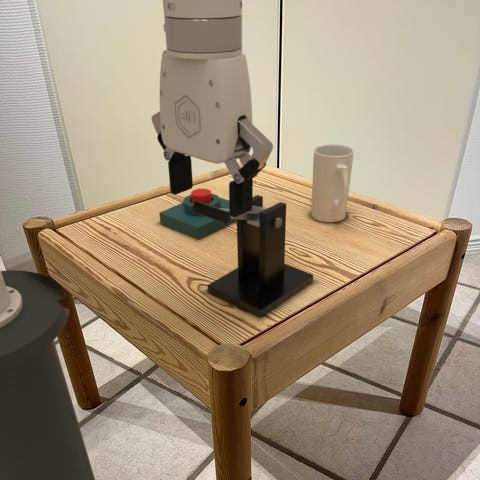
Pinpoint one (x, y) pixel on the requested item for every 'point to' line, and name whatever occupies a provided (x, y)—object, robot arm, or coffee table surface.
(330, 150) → the mug
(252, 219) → the lever
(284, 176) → the coffee table surface
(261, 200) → the bracket
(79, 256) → the coffee table surface
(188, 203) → the button box
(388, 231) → the coffee table surface
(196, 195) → the button
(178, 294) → the coffee table surface
